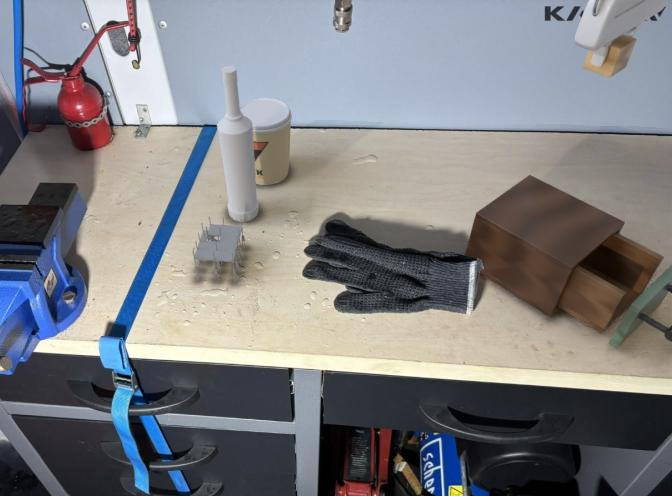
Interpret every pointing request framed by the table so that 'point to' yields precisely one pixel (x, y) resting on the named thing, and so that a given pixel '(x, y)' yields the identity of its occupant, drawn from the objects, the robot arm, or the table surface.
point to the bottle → (237, 152)
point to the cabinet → (537, 240)
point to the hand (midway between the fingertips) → (608, 57)
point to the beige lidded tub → (269, 138)
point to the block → (613, 57)
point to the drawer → (617, 288)
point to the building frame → (219, 246)
